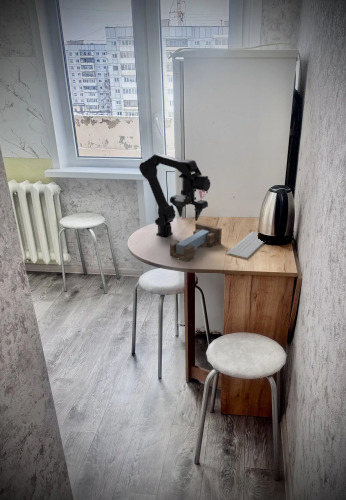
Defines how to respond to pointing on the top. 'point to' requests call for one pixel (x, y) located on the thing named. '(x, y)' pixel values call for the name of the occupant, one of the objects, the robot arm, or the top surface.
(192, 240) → the bed rail
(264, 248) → the top surface
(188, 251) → the headboard posts
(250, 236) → the baseboard molding
